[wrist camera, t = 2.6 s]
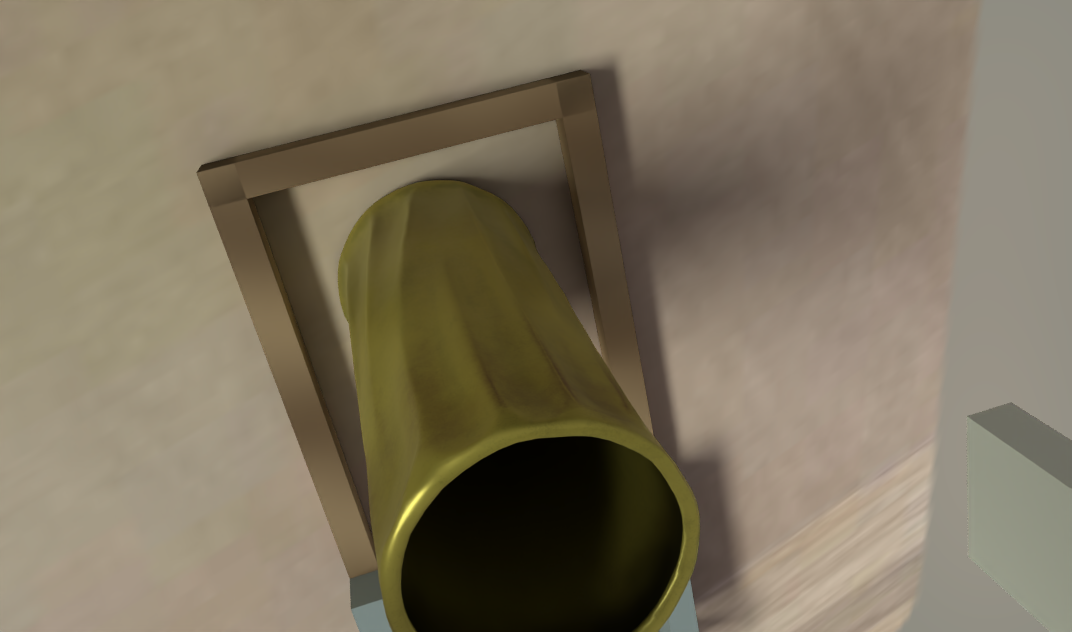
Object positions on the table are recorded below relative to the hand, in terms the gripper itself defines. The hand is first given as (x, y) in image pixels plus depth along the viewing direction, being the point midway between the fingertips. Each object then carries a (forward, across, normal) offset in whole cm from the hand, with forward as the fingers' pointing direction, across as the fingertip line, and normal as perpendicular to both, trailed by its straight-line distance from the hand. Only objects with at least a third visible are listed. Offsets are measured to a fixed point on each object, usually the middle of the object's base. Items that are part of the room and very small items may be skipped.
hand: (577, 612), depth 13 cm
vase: (+15, 0, 0) cm, 15 cm away
